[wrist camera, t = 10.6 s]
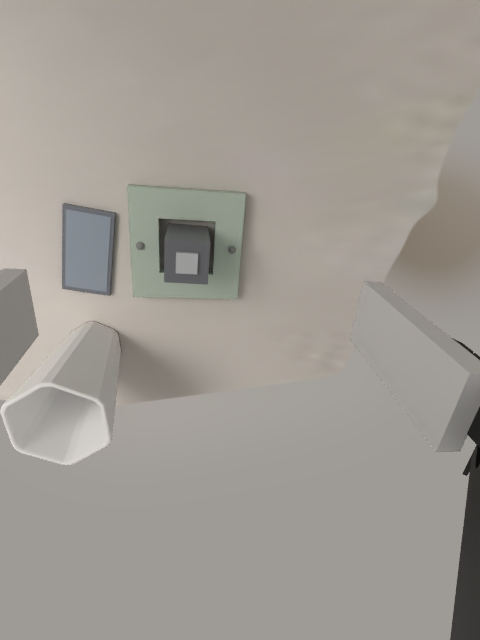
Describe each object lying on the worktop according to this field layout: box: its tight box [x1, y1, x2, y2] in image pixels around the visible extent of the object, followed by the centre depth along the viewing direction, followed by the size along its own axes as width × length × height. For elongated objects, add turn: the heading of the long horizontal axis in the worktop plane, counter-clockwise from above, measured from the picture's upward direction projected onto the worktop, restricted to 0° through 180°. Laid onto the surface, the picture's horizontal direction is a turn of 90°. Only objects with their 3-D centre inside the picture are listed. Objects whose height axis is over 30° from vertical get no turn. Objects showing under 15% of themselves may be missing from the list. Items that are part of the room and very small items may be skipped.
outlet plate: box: [127, 184, 246, 299], centre depth 48 cm, size 14×14×2 cm
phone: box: [62, 203, 116, 296], centre depth 47 cm, size 11×6×1 cm, turn 168°
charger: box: [164, 223, 210, 285], centre depth 45 cm, size 5×5×8 cm
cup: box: [0, 322, 121, 465], centre depth 46 cm, size 11×10×17 cm
